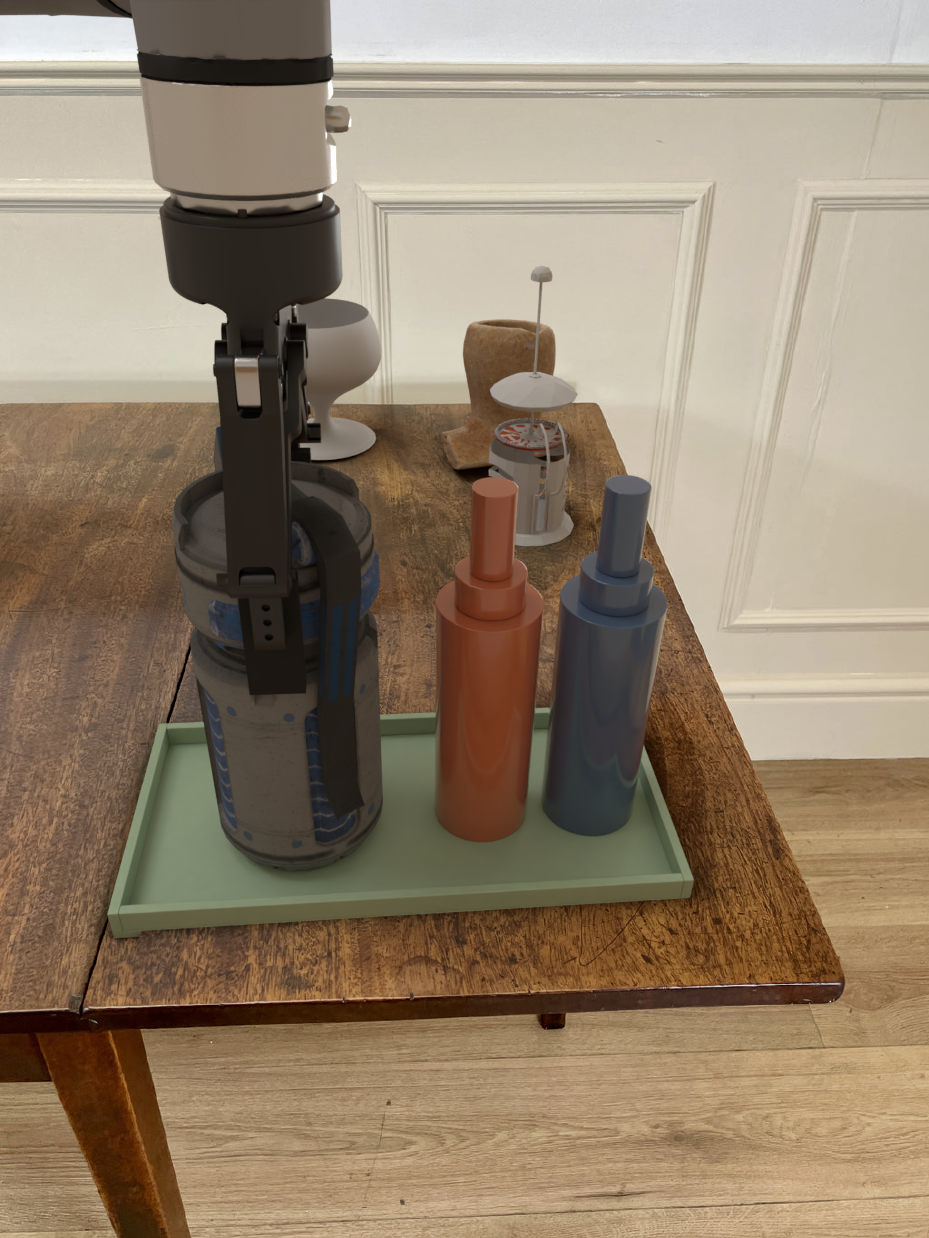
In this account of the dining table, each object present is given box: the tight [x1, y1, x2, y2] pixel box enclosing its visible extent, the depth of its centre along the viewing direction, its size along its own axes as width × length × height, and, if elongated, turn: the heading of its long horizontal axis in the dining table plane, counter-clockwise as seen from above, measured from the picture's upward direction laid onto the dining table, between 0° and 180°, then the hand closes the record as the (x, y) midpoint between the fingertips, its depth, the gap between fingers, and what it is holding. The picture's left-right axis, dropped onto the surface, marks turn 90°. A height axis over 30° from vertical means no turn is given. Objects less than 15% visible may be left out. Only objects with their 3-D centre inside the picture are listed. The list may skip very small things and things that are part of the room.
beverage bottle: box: [170, 426, 383, 871], centre depth 52 cm, size 10×13×25 cm
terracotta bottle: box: [434, 476, 545, 842], centre depth 55 cm, size 6×6×23 cm
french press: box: [488, 265, 579, 547], centre depth 87 cm, size 10×12×25 cm
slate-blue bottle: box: [541, 474, 668, 836], centre depth 55 cm, size 6×6×23 cm
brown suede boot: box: [439, 318, 568, 471], centre depth 105 cm, size 15×12×15 cm
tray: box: [106, 707, 695, 939], centre depth 60 cm, size 33×16×2 cm, turn 95°
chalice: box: [298, 297, 382, 461], centre depth 107 cm, size 14×14×15 cm
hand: (287, 612), depth 52 cm, fingers open, 13 cm apart
